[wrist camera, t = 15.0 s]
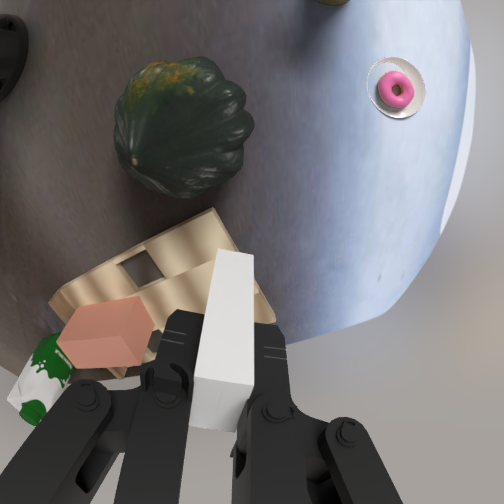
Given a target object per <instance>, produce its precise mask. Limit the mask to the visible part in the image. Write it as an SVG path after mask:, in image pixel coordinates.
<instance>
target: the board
mask: <svg viewBox="0 0 504 504" xmlns="http://www.w3.org/2000/svg"><path fill="white" fill-rule="evenodd" d="M218 248H219V249H224V250H229V251H234V252H239V251H238V249H237V247H236V246H235V244H234V242H233V240H232V239H231V237H230V235H229V233H228V232H227V230H226V228H225V226H224V224H223V223H222V221H221V219H220V217H219V216H218V214H217V212H216V210H215V209H214V207H212V208H210V209H208V210H206V211H204V212H202V213H199V214H197V215H195V216H193V217H191V218H189V219H187V220H185V221H183V222H181V223H179V224H177V225H175V226H173V227H171V228H169V229H167V230H165V231H163V232H161V233H159V234H157V235H155V236H153V237H151V238H149V239H147V240H146V241H144V242H142V243H140V244H138V245H136V246H134V247H132V248H130V249H128V250H126V251H125V252H123V253H121V254H119V255H117V256H115V257H113V258H112V259H110V260H108V261H106V262H104V263H102V264H101V265H99V266H97V267H95V268H93V269H92V270H90V271H88V272H86V273H84V274H83V275H81V276H79V277H77V278H76V279H74V280H72V281H70V282H69V283H67V284H65V285H63V286H62V287H60V288H59V289H58V290H57V292H56V293H55V294H54V296H53V297H52V298H51V300H50V301H49V302H48V304H49V305H50V306H51V307H52V309H53V310H54V311H55V312H56V313H57V315H58V316H59V317H60V318H61V319H62V321H63V322H64V323H65V324H66V325H67V323H68V322H69V320H70V319H71V317H72V315H73V314H74V312H75V311H76V309H77V308H78V307H79V306H85V305H90V304H96V303H101V302H107V301H112V300H117V299H123V298H126V297H127V298H128V297H133V296H140V298H141V300H142V302H143V304H144V306H145V307H146V309H147V311H148V313H149V315H150V317H151V318H152V320H153V322H154V324H155V325H154V328H153V330H154V331H152V334H151V336H150V339H149V342H148V345H147V348H146V351H145V354H144V357H143V360H142V363H146V362H150V361H152V360H155V357H156V354H157V351H158V347H159V344H160V341H161V338H162V334H163V331H164V328H165V325H166V322H167V319H168V317H169V316H170V315H171V314H172V313H173V312H174V311H175V310H176V309H180V310H185V311H190V312H195V313H200V314H205V312H206V306H207V301H208V296H209V291H210V286H211V280H212V275H213V270H214V265H215V260H216V255H217V251H218ZM254 322H257V323H263V324H270V323H273V322H276V317H275V314H274V312H273V310H272V309H271V307H270V305H269V303H268V302H267V300H266V298H265V296H264V295H263V293H262V291H261V289H260V288H259V286H258V284H257V282H256V281H255V279H254ZM142 363H141V364H142ZM128 367H131V366H125V367H107V369H108V370H109V371H111V372H112V373H113V374H114V375H115V376H116V377H117V378H118V379H119V380H120V379H124V376H125V373H126V371H127V368H128Z"/></svg>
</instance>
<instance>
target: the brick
mask: <svg viewBox="0 0 504 504" xmlns="http://www.w3.org/2000/svg"><path fill="white" fill-rule="evenodd" d="M154 325H155V324H154V322H153V320H152V318H151V317H150V315H149V313H148V311H147V309H146V307H145V306H144V304H143V302H142V300H141V298H140V296H133V297H128V298H123V299H117V300H112V301H107V302H101V303H96V304H90V305H85V306H79V307H78V308H77V309H76V311H75V312H74V314H73V315H72V317H71V319H70V320H69V322H68V323H67V325H66V326H65V328H64V330H63V331H62V333H61V335H60V336H59V338H58V340H57V341H56V343H57V344H58V346H59V347H60V348H61V350H62V351H63V352H64V354H65V355H66V356H67V357H68V359H69V360H70V361H71V363H72V364H73V365H74V366H75V368H76V369H79V368H107V367H125V366H139V365H141V363H142V360H143V357H144V354H145V351H146V348H147V345H148V342H149V339H150V336H151V334H152V331H153V328H154Z"/></svg>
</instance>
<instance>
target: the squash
mask: <svg viewBox="0 0 504 504" xmlns="http://www.w3.org/2000/svg"><path fill="white" fill-rule="evenodd" d="M245 102H246V94H245V92H244V91H243V90H242V88H241V87H239V86H238V85H237V84H235V83H233V82H231V81H227V80H225V78H224V76H223V74H222V72H221V70H220V69H219V67H218V66H217V65H216V64H215V63H214V62H213V61H212V60H210V59H208V58H206V57H195V58H190V59H184V60H181V61H178V62H175V63H172V62H155V63H151V64H149V65H147V66H146V67H144V68H143V69H141V70H140V71H139V72H138V73H136V74H135V75H134V76H133V77H132V78H131V80H130V81H129V83H128V85H127V87H126V90H125V92H124V94H122V95H121V96H120V98H119V99H118V101H117V103H116V106H115V111H114V115H115V122H116V125H115V128H114V143H115V148H116V151H117V153H118V159H119V162H120V164H121V166H122V168H123V169H124V170H125V172H126V173H127V174H129V175H130V176H131V177H133V178H135V179H137V180H139V181H140V182H141V183H142V184H143V185H144V186H145V187H146V188H147V189H149V190H150V191H153V192H159V193H163V194H165V195H167V196H169V197H173V198H181V199H191V198H194V197H196V196H198V195H200V194H201V193H203V192H204V191H205V190H206V189H207V188H209V187H212V186H215V185H217V184H219V183H222V182H224V181H227V180H229V179H230V178H232V177H233V176H234V175H235V174H236V173H237V172H238V171H239V170H240V169H241V167H242V164H243V155H244V148H243V143H244V142H245V141H246V140H247V138H248V137H249V136H250V134H251V132H252V131H253V129H254V125H255V124H254V120H253V117H252V116H251V114H250V113H248V112H247V111H245V110H244V109H243V108H244V105H245Z"/></svg>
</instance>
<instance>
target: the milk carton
mask: <svg viewBox="0 0 504 504" xmlns="http://www.w3.org/2000/svg"><path fill="white" fill-rule="evenodd" d="M60 335H61V334H60V332H59V333H56V334H54V335H52V336H49V337H47V338H44V339H43V340H42V341H41V342H40V344H39V345H38V347H37V348H36V349H35V351H34V352H33V354H32V356H31V357H30V359H29V361H28V362H27V364H26V366H25V367H24V369H23V371H22V373H21V374H20V376H19V378H18V380H17V382H16V383H15V385H14V387H13V389H12V390H11V392H10V393H9V395H8V397H7V398H6V399H7V400H8V401H9V402H10V403H11V404H12V405H13V406H14V407H15V408H16V409H17V410H19V411H20V413H19V414H20V416H21V417H22V418H23V419H24V420H25V421H26V422H28V423H29V424H31V425H34V426H37V425H38V424H39V422H40V421H41V420H42V418H43V417H44V416H45V415H46V413H47V412H48V411H49V409H50V408H51V407H52V406H53V404H54V403H55V402H56V401H57V399H58V398H59V397H60V396H61V394H62V393H63V392H64V389H65V387H66V385H67V383H68V381H69V379H70V377H71V375H72V373H73V370H74V368H75V366H74V365H73V364H72V363H71V361H70V360H69V359H68V357H67V356H66V355H65V354H64V352H63V351H62V350H61V348H60V347H59V346H58V344H57V343H56V341H57V340H58V338H59V336H60Z"/></svg>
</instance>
